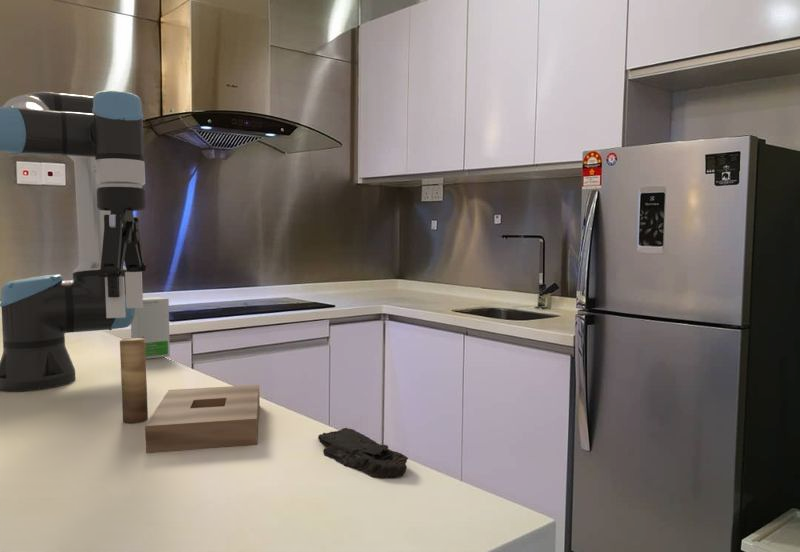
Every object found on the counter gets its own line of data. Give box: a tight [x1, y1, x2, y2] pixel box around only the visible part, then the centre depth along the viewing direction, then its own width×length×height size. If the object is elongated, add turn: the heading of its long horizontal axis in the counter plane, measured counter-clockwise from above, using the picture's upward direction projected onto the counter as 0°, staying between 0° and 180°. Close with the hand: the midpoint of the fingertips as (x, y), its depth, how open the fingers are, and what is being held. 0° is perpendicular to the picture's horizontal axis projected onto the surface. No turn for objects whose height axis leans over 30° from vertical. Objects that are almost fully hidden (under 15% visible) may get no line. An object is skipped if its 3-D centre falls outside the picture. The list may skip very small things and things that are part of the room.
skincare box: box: [130, 296, 171, 360], centre depth 165 cm, size 8×7×16 cm
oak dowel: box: [119, 337, 149, 424], centre depth 108 cm, size 4×4×14 cm
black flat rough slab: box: [317, 427, 409, 480], centre depth 90 cm, size 22×7×3 cm, turn 32°
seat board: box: [144, 384, 261, 454], centre depth 105 cm, size 22×16×4 cm
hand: (126, 312), depth 107 cm, fingers open, 13 cm apart
